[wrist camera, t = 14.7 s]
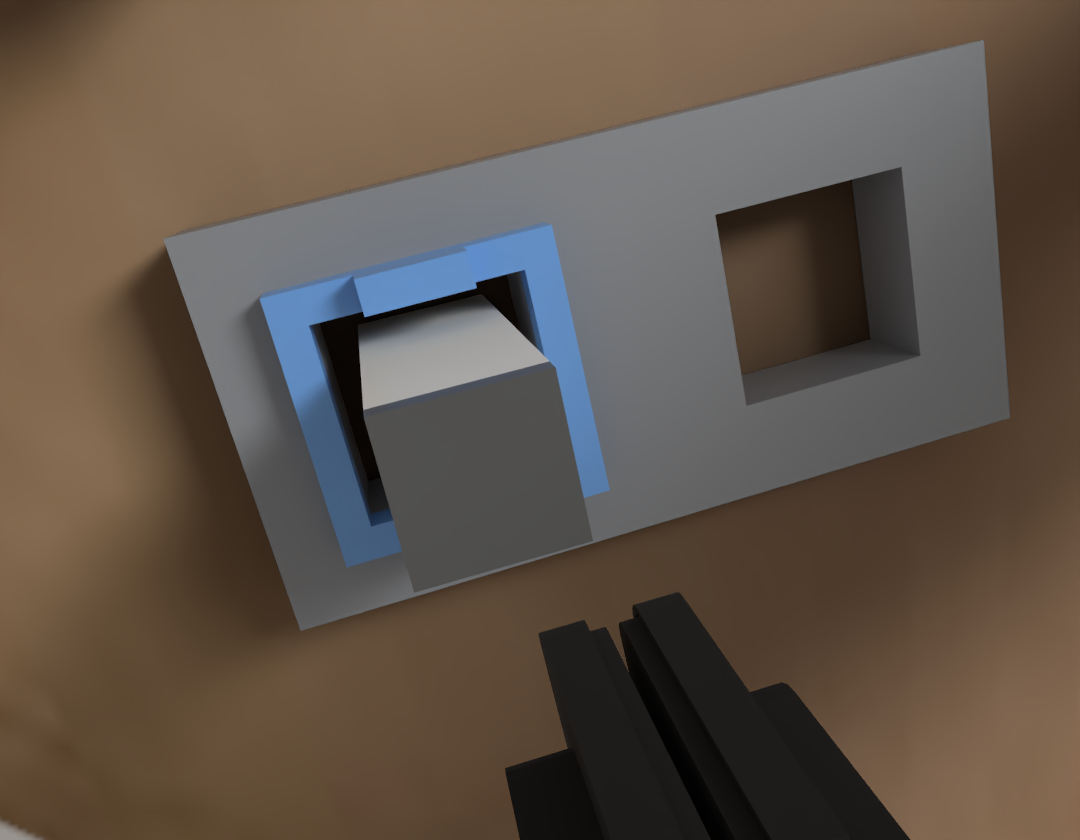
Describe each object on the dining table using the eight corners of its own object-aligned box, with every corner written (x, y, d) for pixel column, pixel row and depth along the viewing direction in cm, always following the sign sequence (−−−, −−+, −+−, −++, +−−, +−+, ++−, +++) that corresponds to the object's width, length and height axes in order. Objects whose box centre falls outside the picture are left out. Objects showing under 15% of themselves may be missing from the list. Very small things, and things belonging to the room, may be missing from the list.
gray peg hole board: (923, 51, 30) (1031, 30, 25) (954, 396, 34) (1053, 434, 29) (182, 230, 27) (147, 245, 22) (304, 587, 31) (297, 665, 26)
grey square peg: (481, 293, 29) (555, 367, 19) (509, 411, 30) (592, 541, 20) (357, 324, 29) (363, 417, 18) (391, 443, 30) (414, 592, 20)
